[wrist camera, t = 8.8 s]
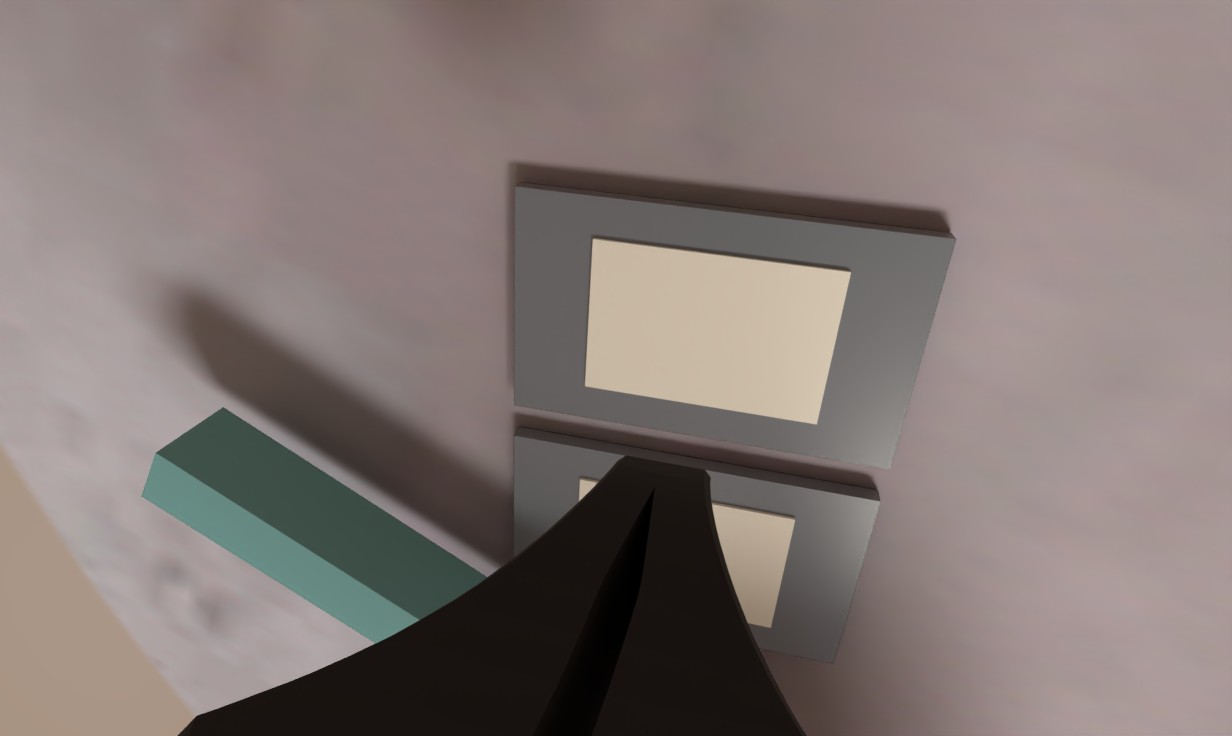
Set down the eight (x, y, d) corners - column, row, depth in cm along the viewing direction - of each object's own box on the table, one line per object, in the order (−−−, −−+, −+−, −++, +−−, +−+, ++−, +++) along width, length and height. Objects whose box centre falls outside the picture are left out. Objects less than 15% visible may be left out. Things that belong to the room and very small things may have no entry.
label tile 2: (832, 651, 22) (833, 667, 21) (518, 583, 23) (512, 596, 23) (878, 490, 19) (880, 503, 18) (520, 426, 20) (512, 437, 20)
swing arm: (766, 731, 22) (762, 878, 18) (698, 783, 23) (681, 927, 20) (231, 385, 20) (106, 466, 17) (200, 467, 22) (81, 556, 18)
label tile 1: (887, 458, 18) (889, 472, 18) (520, 396, 20) (513, 406, 20) (951, 233, 16) (957, 239, 15) (521, 182, 17) (513, 187, 17)
